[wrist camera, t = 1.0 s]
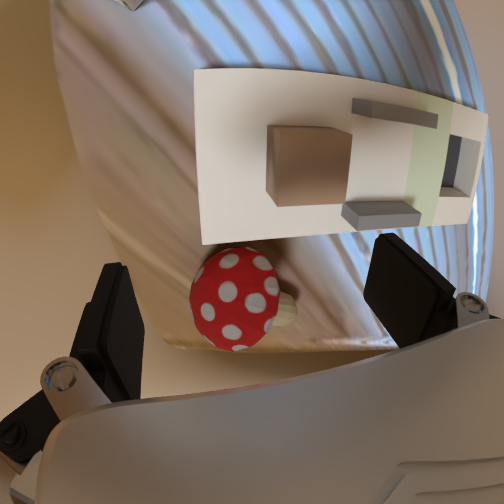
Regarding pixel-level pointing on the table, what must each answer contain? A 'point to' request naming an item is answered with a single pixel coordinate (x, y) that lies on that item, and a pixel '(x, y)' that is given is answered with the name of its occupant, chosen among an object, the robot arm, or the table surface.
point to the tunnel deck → (361, 162)
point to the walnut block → (307, 165)
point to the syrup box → (130, 3)
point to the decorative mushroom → (238, 299)
